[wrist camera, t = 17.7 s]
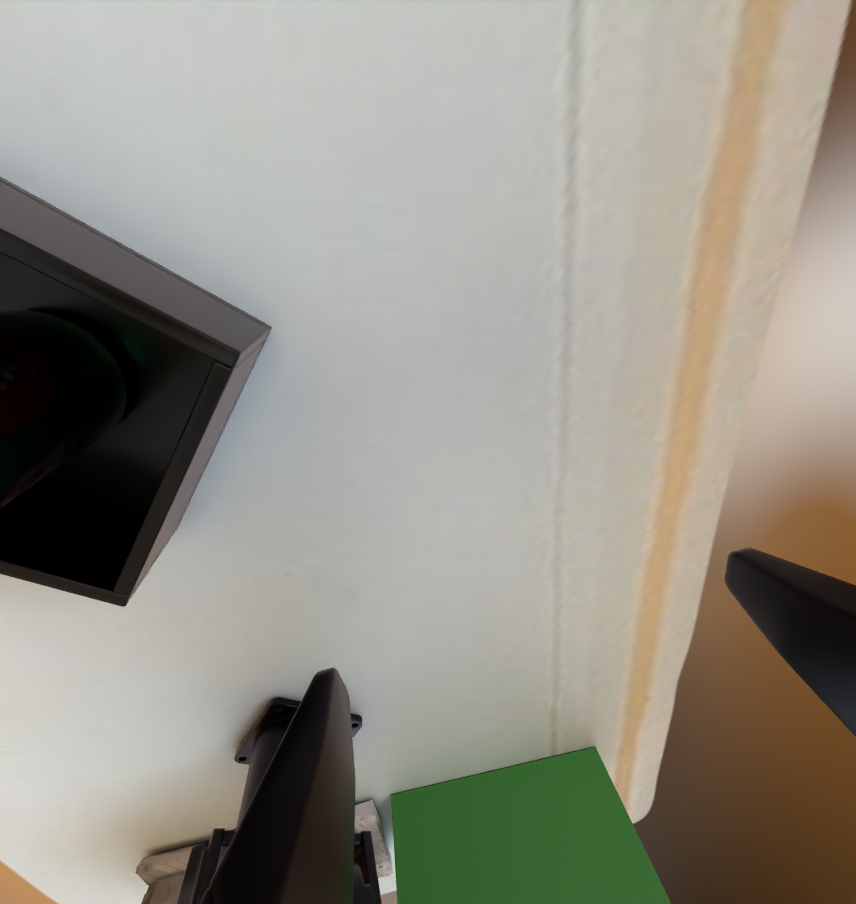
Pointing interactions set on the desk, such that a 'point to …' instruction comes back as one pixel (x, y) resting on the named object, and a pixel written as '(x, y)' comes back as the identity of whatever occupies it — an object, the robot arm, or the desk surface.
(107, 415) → the soda can
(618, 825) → the hardback book
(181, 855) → the packaged product
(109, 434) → the open black square box
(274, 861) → the robot arm
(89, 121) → the desk surface
